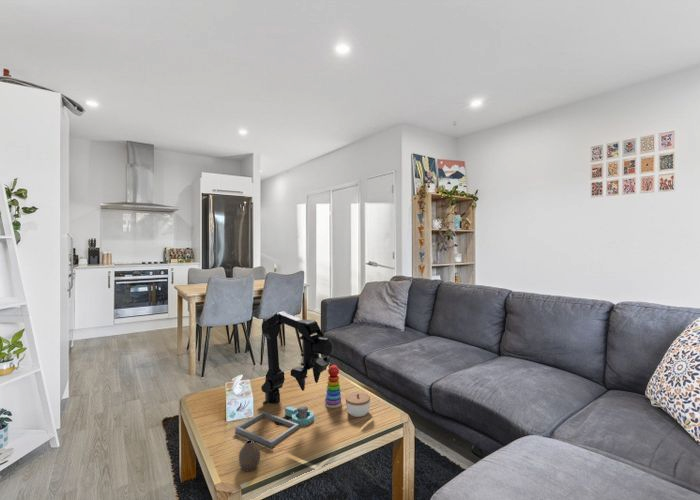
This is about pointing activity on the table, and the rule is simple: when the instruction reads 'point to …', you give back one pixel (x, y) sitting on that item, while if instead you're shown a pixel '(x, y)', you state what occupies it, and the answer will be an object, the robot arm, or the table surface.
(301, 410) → the ring
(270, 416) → the tray
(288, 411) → the ring
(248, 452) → the vase
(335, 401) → the stacking toy
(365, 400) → the lidded jar
